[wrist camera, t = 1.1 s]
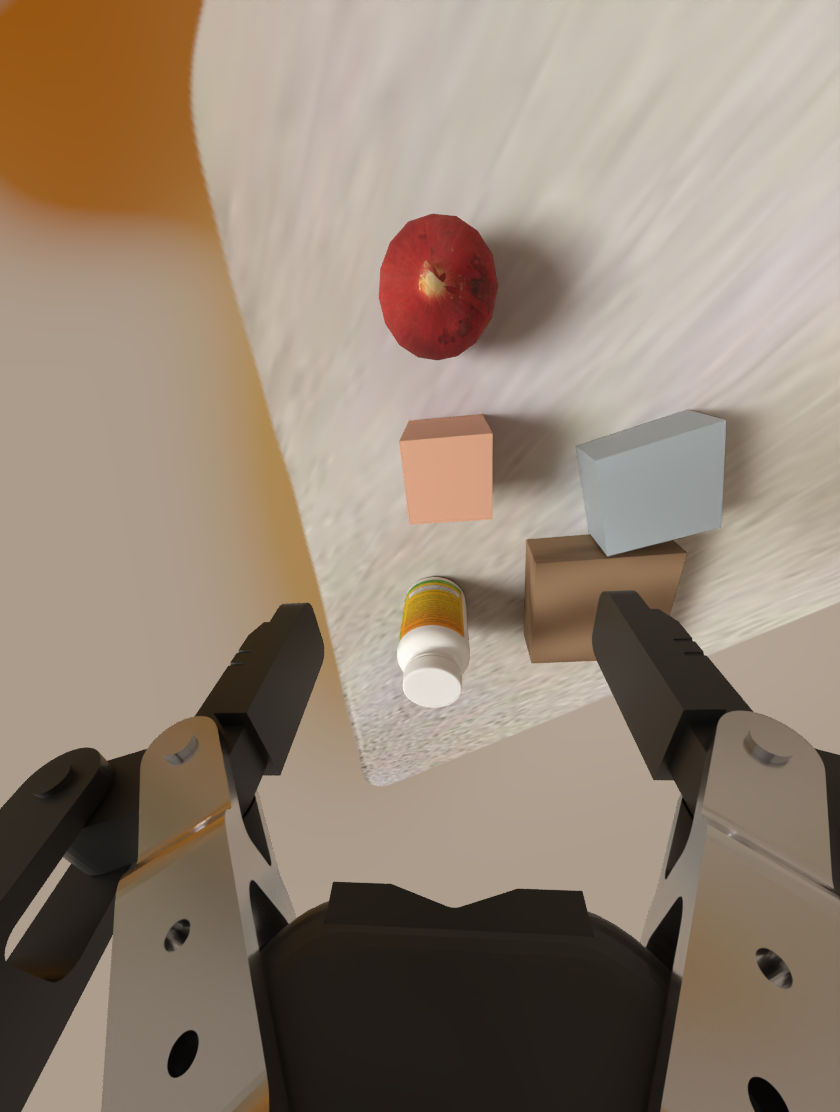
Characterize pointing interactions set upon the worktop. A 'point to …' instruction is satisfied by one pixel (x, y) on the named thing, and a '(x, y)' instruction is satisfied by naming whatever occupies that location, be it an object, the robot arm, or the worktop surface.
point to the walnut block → (588, 590)
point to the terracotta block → (447, 469)
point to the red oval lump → (437, 286)
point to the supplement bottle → (433, 642)
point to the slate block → (654, 481)
